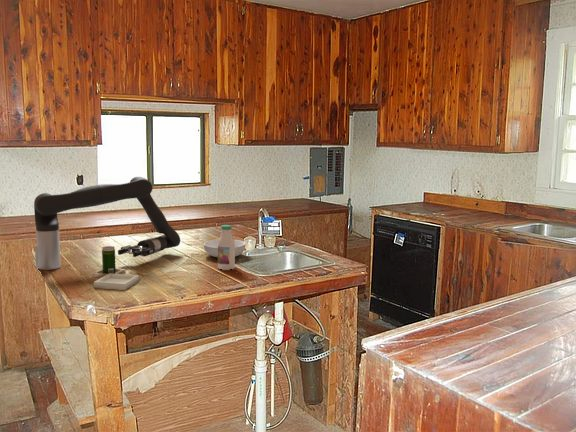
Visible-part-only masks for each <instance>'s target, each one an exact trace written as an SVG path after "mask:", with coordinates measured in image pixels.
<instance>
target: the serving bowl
mask: <svg viewBox="0 0 576 432" xmlns="http://www.w3.org/2000/svg"><path fill="white" fill-rule="evenodd" d="M219 239H220V238H218V239H217V238H216V239H210V240H207V241H205V242H204V243H203V247H204V251H205V252H206V253H207V254H208V255H209V256H211V257H213V258H217V257H218V242H219ZM233 239H234V238H233ZM234 243H235V258H236V257H238V256H240V255H242V254H243V253H244V251H245V248H246V245H247V243H246V242H245V241H243V240H239V239H234Z"/></svg>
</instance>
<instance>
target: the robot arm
mask: <svg viewBox="0 0 576 432" xmlns="http://www.w3.org/2000/svg"><path fill="white" fill-rule="evenodd" d="M152 191H153V184H152V182H151V181H149V180H148V179H147V178H146V177H143V176H135V177H133V178H131V179H130V181H129V182H126V183H118V184H116V183H115V184H114V183H112V184H111V183H109V184H107V183H106V184H104V183H103V184H95V185H89V186H86V187H83V188H79V189H77V190H75V191H72V192H68V193H61V194H60V193H59V194H52V193H51V194H50V193H48V192H45V193H44V192H43V193H41V194H38V195H37V196H36V197H35V199H34V201H33V208H34V222H35V223H34V224H35V229H36V230H35V231H36V246H35V247H34V252H35V269H39V270H43V271H44V270H45V271H46V270H47V271H48V270H49V271H51V270H57V269H60V268H61V266H62V265H61V248H60V246H61V245H60V244H61V243H60V226H59V220H58V214H59V213H62V212H63V213H64V212H66V211H70V210H74V209H76V210H77V209H83V208H90V207H97V206H102V205H106V204H110V203H115V202H119V201H122V200H129V199H131V200H132V199H136V200H138V202H139V203H140V205H141V206H142V208H143V210H144V211H145V213H146V215H147V216H148V219H149V221H150V222H151V224H152V227H153V228H154V230H155V231H156V233H158V234H160V235H159V236H156V237H150V238H146V239H143V240H140V241H139V242H138V243H137V244H135V245H131V244H129V245H125V246H121V247H120V249H118V250H117V254H118V255H119V256H121V255H124V254H129V255H132V257H133V258H136V257H139V256H140V257H148V256H151V255H154V254H156V253H158V252H161V251H164V250H165V249H166V250H167V249H169V248H170V249H171V248H175V247H178V246H179V245H180V244H181V236H180V235H179V234H178V233H179V232H177V231H176V230H175V229H174V227H172V226H171V225H170V223H169V222H168V220H167V218H166V216H165V214H164V213H163V211H162V210H161V209H160V207H159V206H158V205H157V203H156V201H155V200H154V199H153V197H152V195H151V193H152ZM161 234H162V235H161Z"/></svg>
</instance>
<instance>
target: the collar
mask: <svg viewBox="0 0 576 432" xmlns="http://www.w3.org/2000/svg"><path fill="white" fill-rule="evenodd" d="M115 274H126V269H125V268H116V273H115ZM106 275H108V274H103V269H102V268H100V269H99V270H97V271H95V272H93V273H92V278H99V279H100V278H102V277H104V276H106Z"/></svg>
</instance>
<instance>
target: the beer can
mask: <svg viewBox="0 0 576 432" xmlns="http://www.w3.org/2000/svg"><path fill="white" fill-rule="evenodd" d="M101 262H102V263H101V264H102V266H101V267H102V268H101V269H103V273H102V274H109V273H111V274H115V273H116V269H117V268H116V248H115V246H111V245H110V246H109V245H108V246H103V247H102V248H101Z"/></svg>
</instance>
